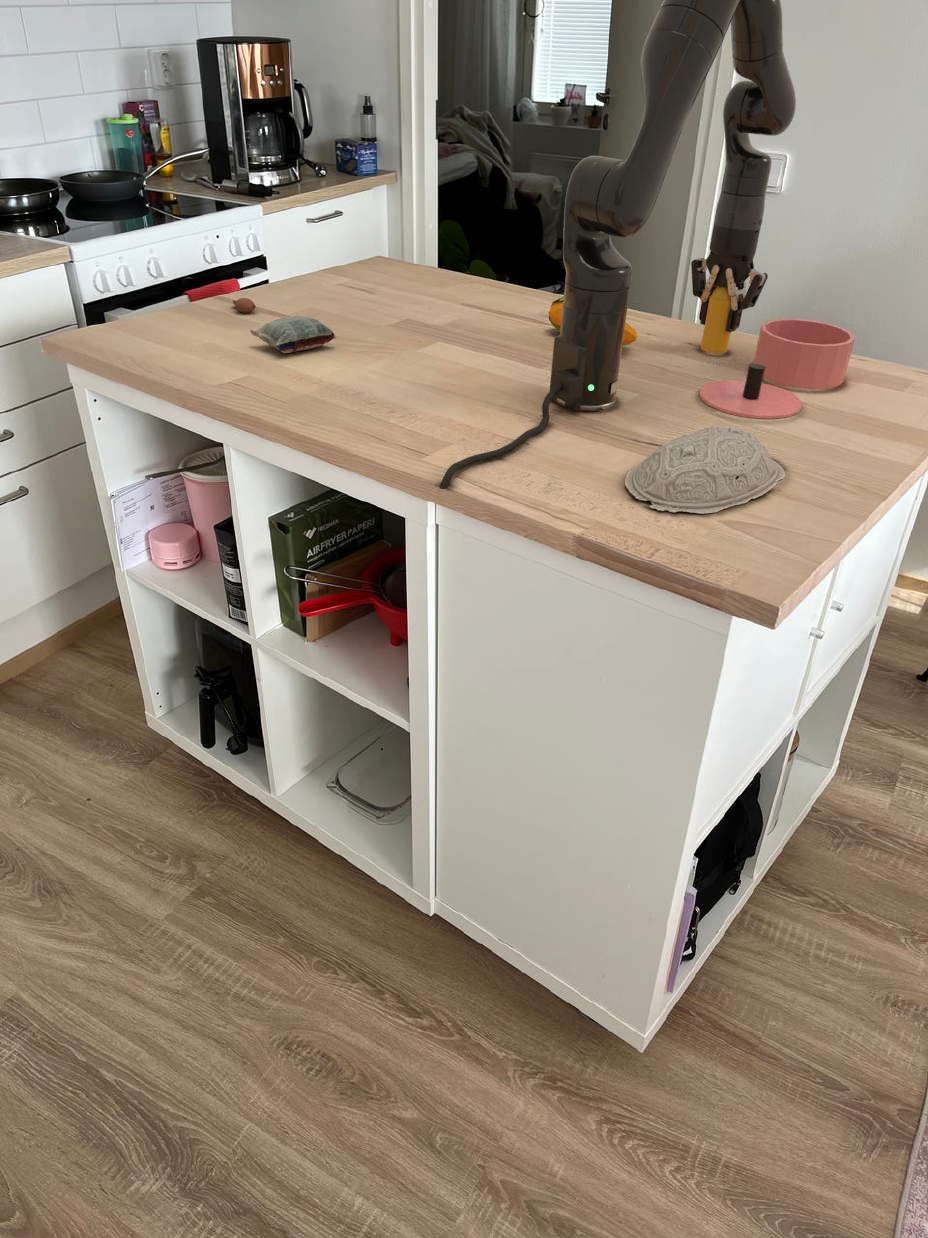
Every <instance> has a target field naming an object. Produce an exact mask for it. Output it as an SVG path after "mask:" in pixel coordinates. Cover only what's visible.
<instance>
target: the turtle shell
mask: <svg viewBox="0 0 928 1238" xmlns="http://www.w3.org/2000/svg"><path fill="white" fill-rule="evenodd" d="M737 477H738V478H737ZM785 477H786V472H785V469H784V468H783V467H782V465H781V464H780V463H778V462H776V461H775V460H774V459H772V457H771V455H770V453H769V451H768V449H767V447H766V446H765V445H764V444H763V443H762V442H761V440H760V439H759V438H758V436H757V435H755V434H753V433H751V432H750V431H746V430H744V429H740V428H739V427H738V426H729V427H728V426H718V425H712V426H710V427H704V428H702V429H699V430H697V431H694V432H691V433H688V434H684V433H683V434H680V435H678V436H675V438H673V439H671V440H670V441H668V442H666V443H665V444H663V445H662V446H660V447H658V448H657V449H656V450H654V451H653V452H652V453H651V454H649V455H648V456H647V457H645V458H644V459H643V460H642V461H641V463H640V464H639V465H638V466H637V467H634V468H631V469H630V471H628V472H627V474H626V476H625V479H624V485H625V487H626V489H627V490H628V493H630V494H631V495H632V496H634V497H635V499H637V500H639V501H645V502H647V501H649V502H650V503H651V504H650V505H648V507H649V508H651V509H653V510H654V509H655V510H657V511H661V512H664V511H668V512H669V513H677V512H687V513H693V514H694V513H695V514H701V515H702V514H703V515H704V514H712V513H717V512H719V511H722V510H724V509H728V508H731V507H735V506H739V505H744V504H746V503H749V501H750V500H752V499H753V500H755V499H757V498H759V497H761V496H764V494H766V493H767V492H769V491H770V490H771V489H772V488H774V487H775V486H776V485H778V482H780V481H782V480H783V479H784V478H785Z"/></svg>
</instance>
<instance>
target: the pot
mask: <svg viewBox="0 0 928 1238" xmlns="http://www.w3.org/2000/svg"><path fill="white" fill-rule="evenodd" d="M855 341H856V337H855V336H854V334H853V333H852V332H851V331H849V330H847V329H846V328H843V327H841V326H838V325H834V324H831V323H829V322H828V323H827V322H822V321H817V320H811V319H802V318H777V319H772V320H767V321H765V322H764V323H762V324H761V325H760V329H759V335H758V338H757V344H756V347H755V352H754V358H753V363H752V364H760V365H763V366H765V372H764V376H763V380H764V381H765V380H766V381H768V382H770V383H773V384H776V385H781V386H785V387H790V388H795V389H796V388H797V389H806V390H827V389H832V388H835V387H836V388H837V387H839V386H841V385H842V384H843V382H844V381H845V377H846V374H847V370H848V367H849V363H850V359H851V355H852V353H853V352H852V351H853V349H854V345H855Z"/></svg>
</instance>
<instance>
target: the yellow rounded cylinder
mask: <svg viewBox="0 0 928 1238" xmlns="http://www.w3.org/2000/svg"><path fill="white" fill-rule="evenodd" d="M731 309H732V308H731V298H730V296H729V294H728V288H725V287H724V286H719V287H717V288H716V289H715V290H714V291H713V293H712V295H710V298H709V304H708V310H707V315H706V321H705V325H703V326H704V327H703V332H702V338H701V344H700V349H701V350H702V351H704V352H707V353H710V354H711V353H712V354H724V353H727V352H728V348H729V344H730V339H731V333H732V332H727V331H726V327H727V321H728V316H729V311H730V310H731Z"/></svg>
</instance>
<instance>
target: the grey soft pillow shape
mask: <svg viewBox="0 0 928 1238" xmlns="http://www.w3.org/2000/svg"><path fill="white" fill-rule="evenodd" d="M249 332H250V334H251V335H252V336H254V337H257V338H259V340H260V341H262V342H264V343H266V344H268V345H269V346H271V347H273V348H275V349H276V350H278V351H280V352H281V353H282V354H288V353H290V354H291V353H294V352H295V353H297V352H300V351H305V350H310V349H315V348H318V347H320V346H323V345H326V344H327V343H330V342H331V341H333V339H334V340H337V335H336V334H335V332H333V330H332V329H330V328H329V327H328V326H326V325H325V324H323V323H322V322H321V321H319V320H318V319H317V318H316V319H315V318H314V317H311V316H303V315H293V316H288V317H281V318H278V319H275V320H271V321H269V322H266V323H265V324H263V325H261V326H260V327H259V328H258V329H255V330H253V329H250V330H249Z"/></svg>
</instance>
